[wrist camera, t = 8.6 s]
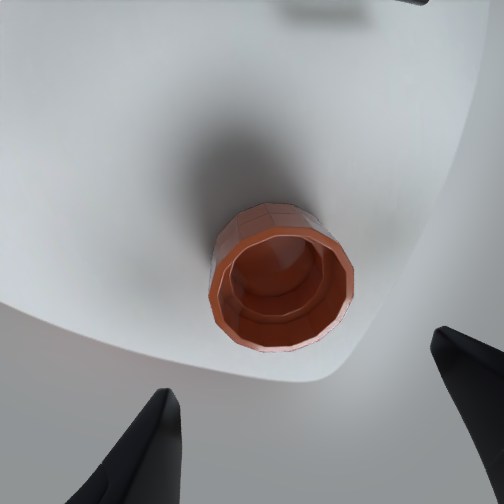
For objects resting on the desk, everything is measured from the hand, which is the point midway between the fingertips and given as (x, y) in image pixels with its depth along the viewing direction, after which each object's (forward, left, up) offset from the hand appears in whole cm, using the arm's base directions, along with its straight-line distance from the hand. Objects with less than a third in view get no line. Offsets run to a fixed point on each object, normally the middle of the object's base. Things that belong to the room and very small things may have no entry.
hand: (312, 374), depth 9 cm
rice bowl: (0, 0, -9) cm, 9 cm away
